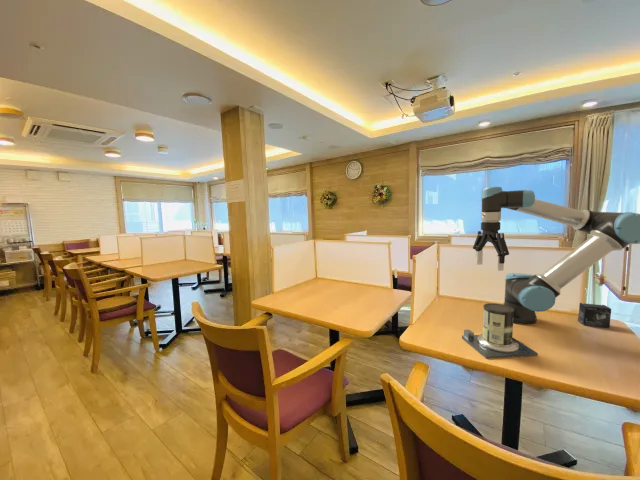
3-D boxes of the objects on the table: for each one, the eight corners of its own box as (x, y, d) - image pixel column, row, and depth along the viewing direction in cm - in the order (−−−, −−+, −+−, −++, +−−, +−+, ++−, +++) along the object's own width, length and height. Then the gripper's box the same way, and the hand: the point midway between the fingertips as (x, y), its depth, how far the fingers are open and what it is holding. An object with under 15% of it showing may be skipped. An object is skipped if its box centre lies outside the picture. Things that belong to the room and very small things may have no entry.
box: (583, 325, 126) (585, 306, 125) (577, 321, 131) (579, 302, 130) (609, 328, 123) (612, 308, 122) (602, 323, 128) (604, 304, 127)
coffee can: (505, 336, 113) (506, 303, 112) (517, 348, 103) (519, 313, 102) (478, 334, 115) (479, 302, 114) (487, 346, 105) (489, 311, 104)
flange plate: (506, 336, 118) (507, 327, 117) (537, 356, 102) (538, 346, 101) (461, 338, 117) (462, 329, 116) (486, 358, 101) (486, 348, 100)
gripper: (465, 220, 135) (464, 262, 137) (503, 223, 110) (501, 273, 112) (480, 220, 135) (478, 261, 138) (520, 222, 111) (518, 272, 113)
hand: (489, 267), depth 125 cm, fingers open, 13 cm apart
